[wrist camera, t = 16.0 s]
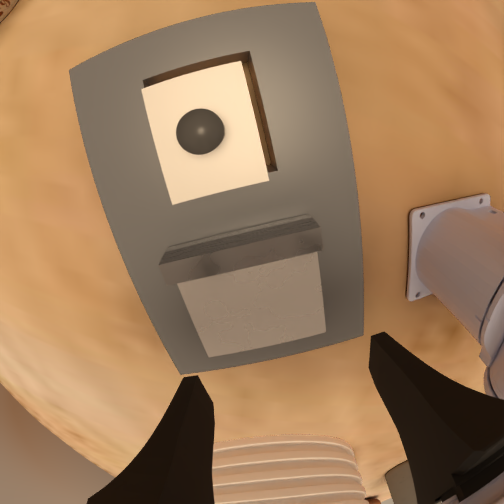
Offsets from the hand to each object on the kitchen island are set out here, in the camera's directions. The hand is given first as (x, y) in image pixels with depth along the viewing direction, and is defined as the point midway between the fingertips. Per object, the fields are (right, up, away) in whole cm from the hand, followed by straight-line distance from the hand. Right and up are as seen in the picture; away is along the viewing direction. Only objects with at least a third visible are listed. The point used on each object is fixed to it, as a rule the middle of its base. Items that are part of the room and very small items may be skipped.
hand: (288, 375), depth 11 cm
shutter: (-1, +3, +6) cm, 7 cm away
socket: (-3, +8, +7) cm, 11 cm away
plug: (-4, +12, +5) cm, 13 cm away
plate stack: (+1, -29, +24) cm, 38 cm away
